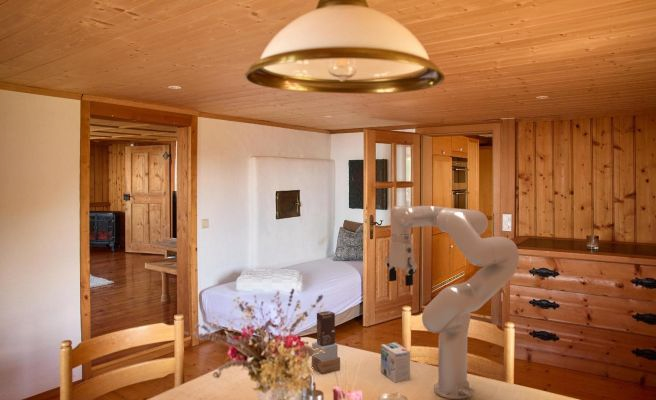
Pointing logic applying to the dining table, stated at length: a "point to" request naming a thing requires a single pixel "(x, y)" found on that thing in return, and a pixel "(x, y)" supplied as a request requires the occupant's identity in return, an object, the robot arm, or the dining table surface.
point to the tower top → (326, 351)
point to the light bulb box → (395, 362)
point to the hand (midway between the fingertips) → (400, 283)
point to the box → (325, 328)
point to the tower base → (326, 365)
